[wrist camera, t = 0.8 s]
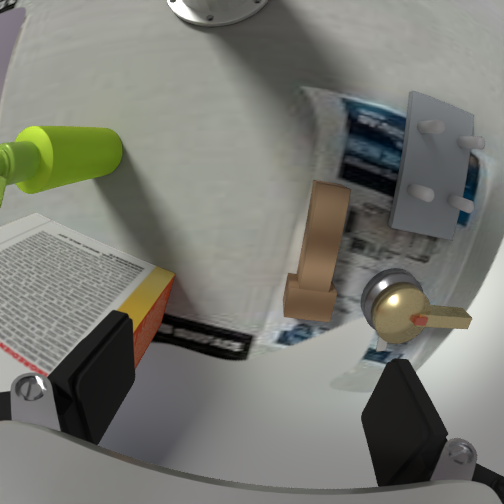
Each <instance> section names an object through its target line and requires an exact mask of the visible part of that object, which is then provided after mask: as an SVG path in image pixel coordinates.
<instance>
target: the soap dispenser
mask: <svg viewBox="0 0 504 504" xmlns="http://www.w3.org/2000/svg"><path fill="white" fill-rule="evenodd" d="M121 158H122V143H121V140H120V138H119V136H118V135H117V134H116V133H115V132H114V131H113V130H111V129H108V128H96V127H71V126H31V127H28V128H26V129H24V130H23V131H22V132H21V133H20V134H19V135H18V136H17V138H16V140H15V142H10V143H2V144H0V208H1V204H2V200H3V195H4V191H5V187H6V186H7V185H11V184H16V185H17V187H18V188H19V189H20V190H22V191H23V192H25V193H28V194H34V193H38V192H41V191H45V190H48V189H52V188H56V187H59V186H63V185H67V184H71V183H75V182H79V181H83V180H87V179H92V178H96V177H100V176H105V175H108V174H110V173H112V172H113V171H114V170H115V169H116V168H117V166H118V165H119V163H120V161H121Z"/></svg>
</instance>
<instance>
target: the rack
mask: <svg viewBox="0 0 504 504" xmlns="http://www.w3.org/2000/svg"><path fill="white" fill-rule="evenodd" d="M473 123H474V115H473V114H470V113H468V112H466V111H464V110H462V109H459V108H457V107H455V106H452V105H450V104H447V103H445V102H443V101H440V100H438V99H435V98H432V97H430V96H427V95H424V94H422V93H419V92H416V91H411V92H409V100H408V110H407V119H406V127H405V135H404V142H403V149H402V155H401V162H400V168H399V173H398V179H397V184H396V190H395V195H394V200H393V205H392V209H391V214H390V218H389V223H388V226H389V227H391V228H394V229H399V230H404V231H409V232H414V233H419V234H424V235H428V236H433V237H438V238H442V239H447V240H453V236H454V232H455V228H456V224H457V220H458V216H459V212H460V210H462V211H464V212H467V213H472V212H473V210H474V203H473V201H471V200H468V199H465V198H463V193H464V188H465V182H466V177H467V171H468V164H469V158H470V150H471V149H483V148H484V146H485V141H484V139H483V138H482V137H478V136H472V133H473Z"/></svg>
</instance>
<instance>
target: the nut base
mask: <svg viewBox="0 0 504 504" xmlns="http://www.w3.org/2000/svg"><path fill="white" fill-rule="evenodd" d="M396 282H410V283H412V284H414V285H416V286H417V287H418V288H419V289H420V290H421V292H422V293H423V290H422V287H421V285H420V284H419V282H418V281H417V280H416V279H415V278H414V277H413V276H412V275H411V274H410V273H409V272H407V271H405V270H402V269H396V268H395V269H388V270H385V271H382V272H380V273H379V274H377V275H376V276H374V277H373V278H372V279H371V280H370V281H369V282H368V284H367V285H366V287H365V288H364V290H363V293H362V297H361V309H362V312H363V314H364V316H365V318H366V320H367V322H368V324H369V325H370V326H371V327H372V328H373V329H375V327H374V325H373V323H372V320H371V307H372V304H373V302H374V300H375V298H376V297H377V295H378V294H379V293H380V292H381V291H382V290H383V289H384V288H386V287H387V286H389V285H391V284H393V283H396ZM375 330H376V329H375ZM386 347H387V342H386V341H384V340H383V339H382V338H381V337H380V336H379V337H378V342H377V347H376V351H386Z"/></svg>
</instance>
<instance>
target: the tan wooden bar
mask: <svg viewBox="0 0 504 504" xmlns="http://www.w3.org/2000/svg"><path fill="white" fill-rule="evenodd" d="M350 192H351V190H350V189H349V188H347V187H345V186H343V185H339V184H334V183H329V182H323V181H317V180H314V181H313V187H312V193H311V199H310V205H309V211H308V216H307V222H306V227H305V233H304V238H303V244H302V249H301V254H300V259H299V265H298V270H297V274H292V273H288V276H287V282H286V287H285V292H284V297H283V310H284V317H289V318H297V319H305V320H314V321H323V322H330V319H331V315H332V312H333V308H334V304H335V301H336V297H337V292H336V289H335V287H334V284H333V282H332V277H333V273H334V268H335V264H336V260H337V255H338V251H339V247H340V242H341V237H342V233H343V228H344V223H345V218H346V213H347V208H348V203H349V198H350Z"/></svg>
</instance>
